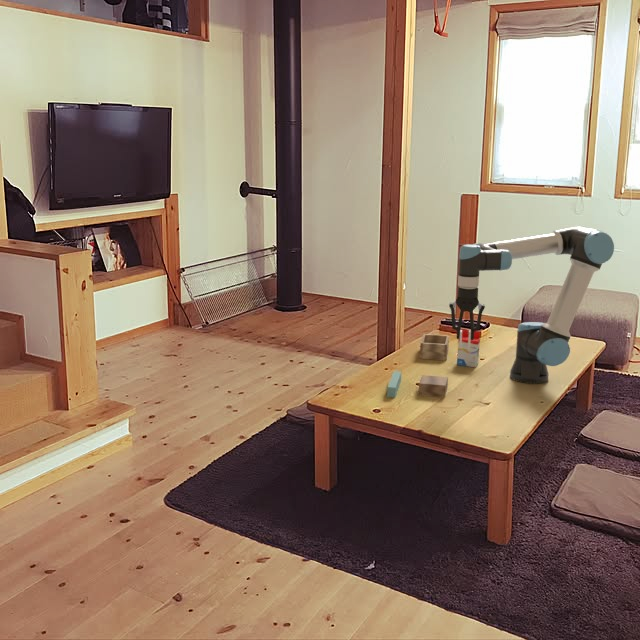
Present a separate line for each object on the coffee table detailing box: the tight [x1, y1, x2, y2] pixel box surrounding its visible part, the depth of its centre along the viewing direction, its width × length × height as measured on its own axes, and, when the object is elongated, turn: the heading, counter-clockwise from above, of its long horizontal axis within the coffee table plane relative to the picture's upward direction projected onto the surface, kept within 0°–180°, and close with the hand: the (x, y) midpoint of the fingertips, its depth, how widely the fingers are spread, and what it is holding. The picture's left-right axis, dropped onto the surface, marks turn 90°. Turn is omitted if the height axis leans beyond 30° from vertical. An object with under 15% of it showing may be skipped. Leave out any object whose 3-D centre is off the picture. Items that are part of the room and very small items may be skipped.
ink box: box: [456, 329, 481, 368], centre depth 335 cm, size 8×5×15 cm, turn 68°
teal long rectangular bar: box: [386, 370, 402, 399], centre depth 305 cm, size 3×20×4 cm, turn 168°
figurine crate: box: [419, 333, 450, 361], centre depth 350 cm, size 12×16×7 cm
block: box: [418, 374, 449, 398], centre depth 302 cm, size 10×10×5 cm
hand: (464, 347), depth 296 cm, fingers open, 3 cm apart
